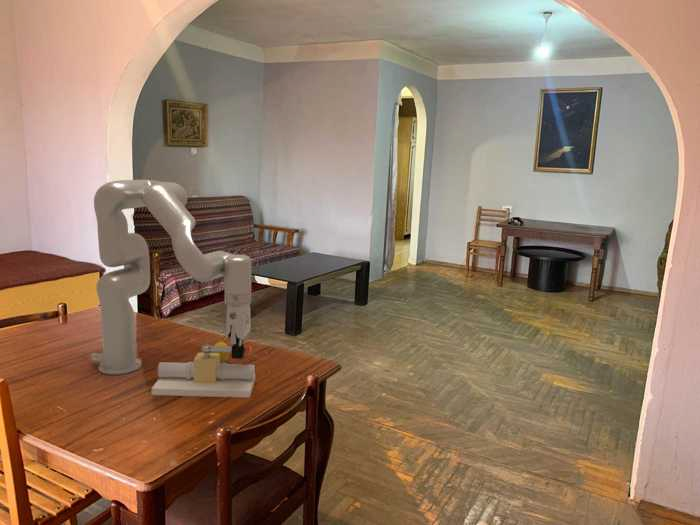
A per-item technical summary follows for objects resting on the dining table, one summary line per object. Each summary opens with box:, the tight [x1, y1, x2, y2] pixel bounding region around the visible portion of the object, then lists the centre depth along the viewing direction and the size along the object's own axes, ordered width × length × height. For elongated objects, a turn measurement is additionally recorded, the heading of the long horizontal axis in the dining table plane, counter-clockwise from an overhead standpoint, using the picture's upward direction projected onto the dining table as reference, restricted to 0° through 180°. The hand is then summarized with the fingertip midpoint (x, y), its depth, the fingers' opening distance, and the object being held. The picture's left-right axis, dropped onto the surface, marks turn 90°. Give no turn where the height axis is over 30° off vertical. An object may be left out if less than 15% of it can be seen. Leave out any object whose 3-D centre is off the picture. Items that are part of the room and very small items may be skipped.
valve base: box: [151, 352, 256, 399], centre depth 160 cm, size 28×12×10 cm, turn 92°
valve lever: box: [201, 344, 252, 355], centre depth 161 cm, size 14×3×2 cm, turn 94°
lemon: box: [211, 341, 230, 364], centre depth 178 cm, size 6×6×8 cm
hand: (237, 357), depth 158 cm, fingers closed
